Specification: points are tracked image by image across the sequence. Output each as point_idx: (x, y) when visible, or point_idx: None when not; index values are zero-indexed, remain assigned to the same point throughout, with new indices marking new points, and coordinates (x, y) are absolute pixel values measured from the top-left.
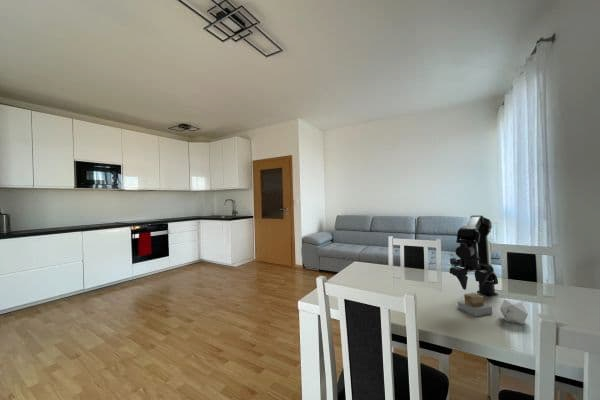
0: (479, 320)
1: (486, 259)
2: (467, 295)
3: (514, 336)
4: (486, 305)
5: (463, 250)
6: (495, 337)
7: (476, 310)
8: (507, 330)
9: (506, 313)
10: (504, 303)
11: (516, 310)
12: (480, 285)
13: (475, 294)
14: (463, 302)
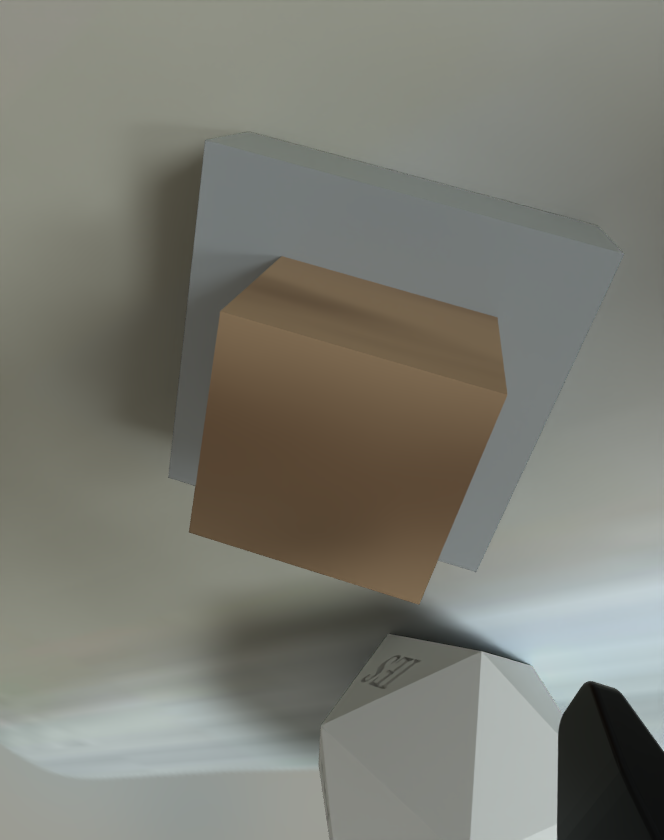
0: (159, 487)
1: None
2: (208, 398)
3: (161, 716)
4: (461, 515)
5: None
6: (20, 648)
7: (196, 477)
8: (205, 675)
9: (320, 748)
10: (390, 826)
11: None
12: (578, 745)
13: (417, 478)
14: (262, 237)
